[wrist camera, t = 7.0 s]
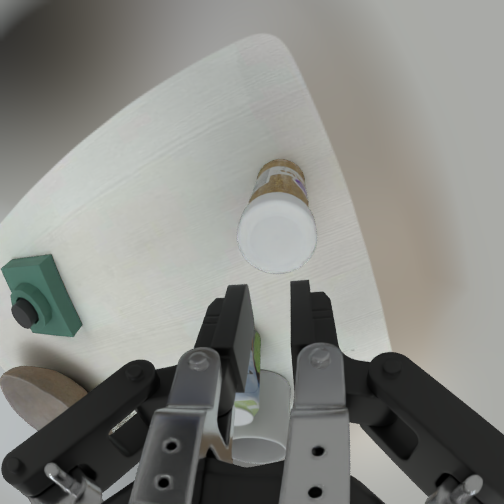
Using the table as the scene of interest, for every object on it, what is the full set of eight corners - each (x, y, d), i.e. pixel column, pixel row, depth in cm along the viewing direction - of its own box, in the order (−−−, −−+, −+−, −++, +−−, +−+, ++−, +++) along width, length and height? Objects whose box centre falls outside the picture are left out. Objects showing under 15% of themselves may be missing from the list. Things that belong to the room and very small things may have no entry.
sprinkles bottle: (314, 179, 29) (335, 237, 17) (283, 213, 31) (281, 290, 19) (277, 148, 28) (271, 184, 16) (246, 184, 30) (219, 244, 18)
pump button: (15, 297, 35) (7, 305, 33) (30, 297, 34) (22, 305, 32) (26, 319, 36) (19, 327, 35) (42, 321, 36) (35, 329, 34)
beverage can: (242, 308, 36) (226, 388, 26) (276, 347, 39) (271, 425, 28) (202, 327, 38) (177, 403, 28) (236, 362, 41) (222, 437, 30)
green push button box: (12, 259, 37) (-8, 275, 33) (51, 254, 36) (29, 272, 31) (41, 322, 43) (26, 340, 38) (82, 324, 41) (67, 346, 37)
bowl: (65, 331, 43) (34, 373, 34) (153, 427, 53) (140, 468, 44) (6, 348, 49) (-18, 378, 41) (78, 425, 60) (63, 455, 51)
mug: (222, 375, 42) (208, 439, 33) (277, 363, 40) (273, 432, 30) (256, 418, 47) (249, 474, 37) (305, 409, 45) (305, 468, 35)
